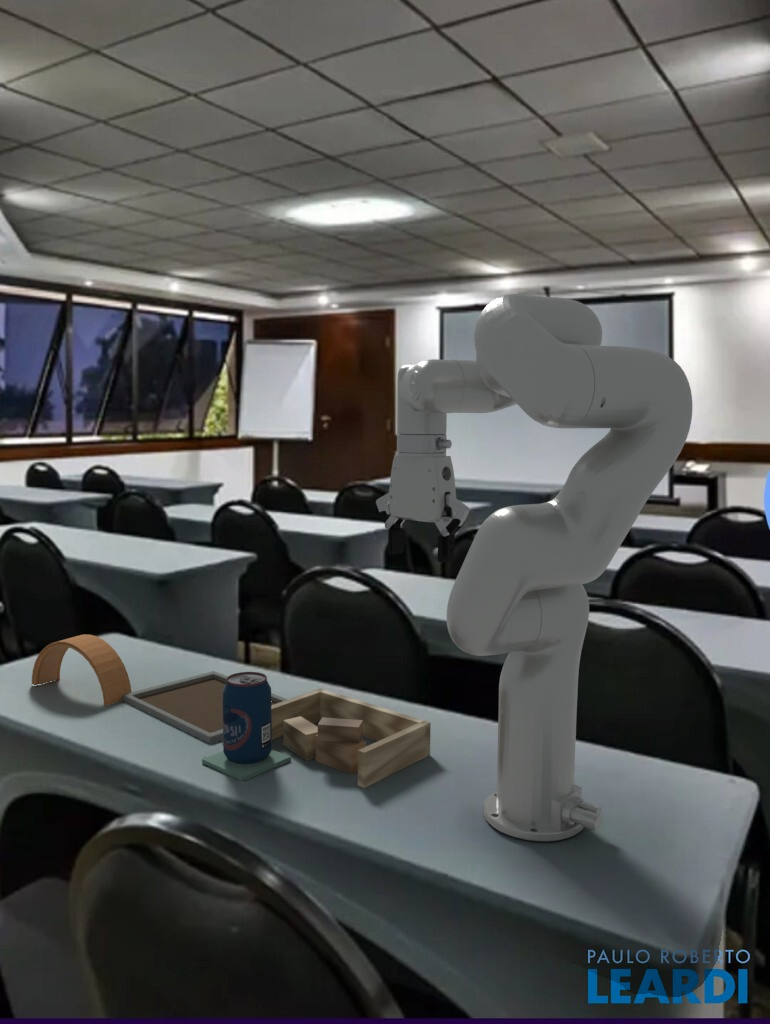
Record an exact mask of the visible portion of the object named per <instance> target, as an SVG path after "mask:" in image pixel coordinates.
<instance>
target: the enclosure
mask: <svg viewBox="0 0 770 1024" xmlns="http://www.w3.org/2000/svg"><path fill="white" fill-rule="evenodd" d="M271 714H272V741H273V740H276V739H279V738H282V737H283V720H286V719H291V718H295V717H299V716H301V717H303V718H304V719H306V720H308V721H309V722H311V723H312V724H314V725H316V724H317V723H319V722H320V720H321V719H322V717H324V718H338V719H353V720H363V737H365V738H367V739H370V740H371V739H372V740H374V741H375V742H373V743H371V744H369V745H367V746H366V747H364V748H362V749H360V750H358V771H357V786H358V787H361V788H363V789H366V788H368V787H370V786H372V785H373V784H375V783H377V782H379V781H381V780H383V779H385V778H387V777H389V776H391V775H393V774H395V773H397V772H399V771H402V770H404V769H405V768H407V767H409V766H411V765H413V764H415V763H418V762H419V761H421V760H423V759H426V758H427V757H428V756H430V755H431V722H430V721H427V720H424V719H420V718H418V717H417V718H416V717H415V716H410V715H408V714H404V713H401V712H398V711H395V710H391V709H389V708H386V707H385V708H384V707H382V706H378V705H374V704H373V703H369V702H365V701H363V700H359V699H356V698H353V697H349V696H346V695H342V694H341V693H337V692H333V691H330V690H327V689H324V688H318V689H314V690H312V691H309V692H306V693H302V694H300V695H297V696H295V697H292V698H289V699H288V700H286V701H283V702H280V703H277V704H274V705H271Z"/></svg>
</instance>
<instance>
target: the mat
mask: <svg viewBox="0 0 770 1024" xmlns="http://www.w3.org/2000/svg"><path fill="white" fill-rule="evenodd" d="M291 759H292V758H291V755H287V754H285V753H282V752H279V751H278V750H275V749H272V750H271V752H270V754H269V756H268V757H267V759H266V760H265V761H264V762H262V763H260V764H257V765H252V766H238V765H234V764H232V763H230V762H229V760H228V759H227V757H226V756H225V754H224V752H223V750H222V751H220V752H218V753H215V754H212V755H211V754H210V755H209V756H207V757H204V758H202V759H201V763H202V764H203V765H205V766H208V767H210V768H212V769H215V770H217V771H219V772H221V773H223V774H225V775H228V776H229V777H232V778H234V779H237V780H239V781H241V782H243V781H247V780H248V779H251V778H253V777H256V776H259V775H260V774H263V773H265V772H267V771H270V770H273V769H274V768H277V767H279V766H282V765H284V764H287V763H289V762H291Z"/></svg>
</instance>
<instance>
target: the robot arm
mask: <svg viewBox="0 0 770 1024" xmlns="http://www.w3.org/2000/svg"><path fill="white" fill-rule="evenodd" d="M602 341H603V329H602V324H601V322H600V319H599V318H598V316H597V314H596V313H595V312H594V310H592V309H591V308H590V307H588V306H587V304H584V303H583V302H580V301H577V300H574V299H570V298H563V297H553V296H543V295H542V296H541V295H526V294H525V295H524V294H516V293H513V294H504V295H502V296H499V297H497V298H495V299H493V300H492V301H490V302H489V303H488V304H487V305H486V306H485V307H484V309H482V311H481V312H480V314H479V316H478V318H477V320H476V323H475V327H474V333H473V343H474V349H475V360H468V359H465V360H464V359H439V358H438V359H434V358H433V359H432V358H431V359H426V360H425V359H424V360H422V361H420V362H418V363H408V364H404V365H402V366H401V367H400V368H399V369H398V371H397V381H396V383H397V390H396V391H397V397H396V399H397V400H396V401H397V403H396V417H397V418H396V433H397V434H396V454H395V455H393V456H394V457H393V460H392V466H391V472H390V480H389V489H388V490H389V491H388V492H387V493H385V494H384V495H382V496H380V497H379V498H377V499H376V500H375V505H376V506H377V509H378V512H379V516H380V519H381V520H382V522H383V523H384V528H385V529H386V530H387V531H388V533H387V546H388V547H387V549H388V550H387V553H388V555H389V556H394V555H399V554H403V553H404V552H405V528H404V527H402V525H403V524H404V522H405V521H406V520H407V521H417V522H426V523H434V524H435V526H436V528H437V530H438V531H439V533H440V534H441V535H438V536H437V561H438V562H439V563H446V562H450V561H453V560H454V555H455V535H457V534H458V533H459V531H460V530H461V528H462V527H463V526H464V525H465V521H466V519H467V518H468V515H469V513H470V512H471V511H470V510H471V509H470V508H469V506H468V505H466V504H465V503H463V502H462V501H461V500H460V499H458V498H457V491H456V490H457V489H456V479H455V472H454V471H455V470H454V465H453V460H452V457H451V456H450V455H447V449H451V447H452V445H453V443H452V441H451V439H447V437H448V436H447V428H448V427H447V424H448V423H447V422H448V420H447V419H448V414H456V413H457V414H488V413H494V412H498V411H501V410H504V409H506V408H510V407H513V406H515V405H517V406H518V407H519V408H520V409H521V410H522V411H523V412H524V413H525V414H526V415H527V416H528V417H529V418H531V419H532V420H533V421H535V422H537V423H539V424H541V426H542V425H543V426H545V427H548V428H549V427H550V428H555V429H609V431H608V433H606V435H605V436H604V437H603V438H602V439H600V440H599V441H597V442H596V443H595V444H594V445H593V446H591V447H590V448H589V449H588V450H587V451H585V452H584V453H583V454H582V456H581V457H580V458H579V459H578V460H577V461H576V463H575V464H574V466H573V467H572V468H571V470H570V471H569V473H568V476H567V479H566V481H565V482H564V484H563V485H562V488H561V490H560V491H559V492H558V494H557V495H556V496H555V497H554V498H553V499H551V500H548V501H547V502H542V503H531V504H527V503H526V504H517V505H516V504H515V505H510V506H506V507H501V508H499V509H497V510H496V511H494V512H492V513H491V514H490V515H489V516H488V517H487V518H486V519H484V521H483V522H482V523H481V525H480V526H479V528H478V529H477V532H476V534H475V536H474V538H473V541H471V545H470V546H469V549H468V551H467V553H466V556H465V558H464V561H463V563H462V565H461V567H460V570H459V572H458V574H457V576H456V579H455V581H454V583H453V586H452V588H451V590H450V593H449V597H448V601H447V604H446V627H447V631H448V633H449V636H450V639H451V640H452V642H453V643H454V644H455V646H457V648H459V650H461V651H462V652H464V653H467V654H469V655H473V656H479V657H482V656H483V657H485V656H495V655H496V656H497V655H502V654H507V656H506V659H505V660H504V663H503V666H502V669H501V672H500V676H499V684H498V717H497V718H498V719H497V721H498V723H497V727H498V728H497V762H496V763H497V765H496V766H497V767H496V768H497V769H496V791H495V792H493V793H492V794H490V795H489V796H487V798H486V799H485V801H484V802H483V815H484V818H485V820H486V821H487V823H488V824H490V825H491V826H492V828H494V829H496V830H497V831H499V832H501V833H502V834H504V835H505V834H506V835H507V836H509V837H513V838H517V839H520V840H521V839H522V840H525V841H534V842H556V841H560V840H561V841H562V840H565V839H569V838H572V837H574V836H575V835H577V834H579V833H580V832H581V831H583V830H584V828H585V829H589V830H592V831H595V832H598V831H599V830H600V829H601V827H602V824H603V816H602V815H601V814H602V807H601V806H600V805H597V804H593V803H589V802H586V801H585V800H584V799H583V797H582V792H583V787H582V786H580V785H577V784H575V769H576V768H575V767H576V766H575V765H576V744H577V742H576V741H577V740H576V739H577V738H576V736H577V712H578V711H577V709H578V691H579V690H578V687H579V670H580V662H581V661H580V660H581V655H582V649H583V645H584V641H585V637H586V634H587V633H586V632H587V629H588V625H589V624H588V623H589V618H590V601H589V597H588V593H587V591H586V588H585V586H584V585H585V584H588V583H591V582H593V581H595V580H597V579H598V578H599V577H600V576H601V575H602V574H603V573H605V570H606V569H607V568H608V567H609V565H610V563H611V562H612V560H613V558H614V557H615V555H616V553H617V552H618V550H619V549H620V547H621V545H622V543H623V542H624V540H625V539H626V537H627V535H628V533H629V532H630V530H631V529H632V527H633V525H634V524H635V522H636V520H637V519H638V516H639V515H640V513H641V511H642V509H643V508H644V506H645V505H646V503H647V501H648V500H649V498H650V497H651V495H652V494H653V493H654V491H655V489H656V488H658V485H659V484H660V483H661V482H662V480H663V479H664V478H665V476H666V475H667V474H668V473H669V471H670V469H671V468H672V467H673V465H674V464H675V462H676V460H677V459H678V457H679V455H680V454H681V453H682V450H683V447H684V446H685V443H686V441H687V439H688V436H689V432H690V430H691V424H692V418H693V396H692V389H691V385H690V382H689V379H688V376H687V375H686V372H685V371H684V370H683V368H682V367H681V365H679V363H678V362H676V361H675V359H673V358H671V357H669V356H668V355H666V354H663V353H661V352H658V351H655V350H652V349H648V348H643V347H642V348H641V347H635V346H618V345H601V344H602Z"/></svg>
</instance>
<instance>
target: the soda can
mask: <svg viewBox="0 0 770 1024" xmlns="http://www.w3.org/2000/svg"><path fill="white" fill-rule="evenodd" d="M227 676H228V677H227V679H226V681H227V682H226V684H225V686H224V688H223V691H222V694H223V740H222V744H223V745H222V746H223V748H222V749H223V750H222V751H223V752H224V754H225V756H226V757H227V759H228V760H229V762H230V763H232V764H234V765H238V766H252V765H257V764H260V763H262V762H264V761H265V760H266V759H267V757H268V756H269V754H270V752H271V750H273V740H272V714H271V693H272V686H271V685H270V683H269V682H268V677H267V675H266V674H265V673H262V672H258V671H241V672H236V673H233V674H230V675H227Z"/></svg>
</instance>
